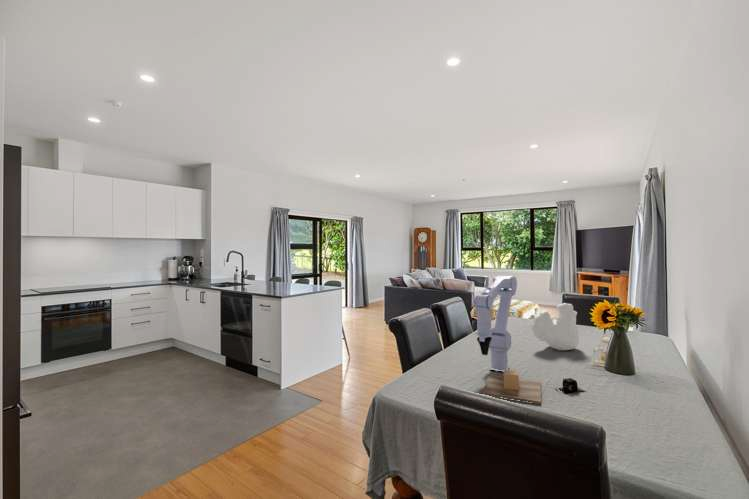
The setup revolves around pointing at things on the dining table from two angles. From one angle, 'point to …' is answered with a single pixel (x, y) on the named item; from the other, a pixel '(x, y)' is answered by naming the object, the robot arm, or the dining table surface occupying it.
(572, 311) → the decorative rooster
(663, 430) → the dining table surface
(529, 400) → the base board
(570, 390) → the black winged block
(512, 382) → the tan wooden cube
